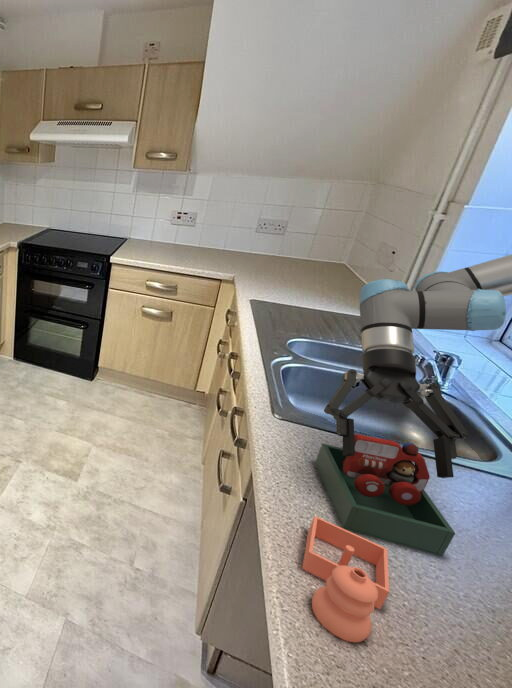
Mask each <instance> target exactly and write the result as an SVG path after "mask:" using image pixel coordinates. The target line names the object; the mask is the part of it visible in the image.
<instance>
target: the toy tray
mask: <svg viewBox="0 0 512 688" xmlns="http://www.w3.org/2000/svg"><path fill="white" fill-rule="evenodd" d="M346 458H347V456H343V447H339V446H334V445H330V444H326V443H321V445H320V448H319V451H318V453H317V456H316V458H315V461H314V466H315V467H316V469H317V472H318V474H319V477H320V479H321V481H322V483H323V486H324V488H325V490H326V493H327V495H328V498H329V500H330V502H331V505H332V507H333V509H334V512H335V513H336V516H337V518H338V521H339V524H340V525H341V528H343V529H345V530H347V531H350V532H352V533H357V534H361V535H363V536H364V535H365V536H367V537H371V538H375V539H378V540H382V541H386V542H390V543H392V544H395V545H396V544H397V545H400V546H403V547H407V548H410V549H414V550H417V551H421V552H425V553H428V554H432V555H435V556H439V557H443V556H444V554H445V553H446V551H447V549H448V547H449V545H450V543H451V542H452V540H453V538H454V537H455V535H456V532H455V530H454V529H453V528H452V526H451V525H450V523H449V522H448V520H447V519H446V518H445V517H444V515H443V514H442V512H441V511H440V510H439V508H438V507H437V505H436V504H435V503H434V502H433V500H432V499H431V497H430V495H428V494H427V491H425V489H424V490H423V491H421V492H420V494H421V499H420V501H419V502H418V503H416V504H414V505H402V504H399V503H397V502H396V501H395V500H394V499H393V498H392V497H391V495H390V494H389V488H390V486H388V485H385V491H384V492H383V493H382V494H381V495H379V496H376V497H368V496H365V495H362V494H361V493H360V492H359V491H358V490H357V488H356V487H355V484H354V482H355V479H356V478H351V477H348V476H347V475H346V474H345V473H344V471H343V462H344V460H345V459H346ZM412 475H413V473H412Z"/></svg>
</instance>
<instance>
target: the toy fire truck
mask: <svg viewBox="0 0 512 688" xmlns="http://www.w3.org/2000/svg"><path fill="white" fill-rule="evenodd" d="M354 441H355V455H353V456H349V457H347V458H346V459H345V460H344V462H343V471H344V473H345V474H346V475H347V476H348V477H351V478H356V479H355V482H354V484H355V487H356V488H357V490H358V491H359V492H360V493H361V494H362V495H365V496H368V497H376V496H379V495H381V494H382V493H383V492H384V491H385V485H388V486H390V488H389V494H390V495H391V497H392V498H393V499H394V500H395V501H396V502H397V503H399V504H402V505H414V504H416V503H418V502H419V501H420V499H421V494H420V492H421V491H423V490H425V489H426V486H427V484H428V482H429V480H430V477H431V476H430V474H429V470H428V466H427V463H426V460H425V458H424V457H423V456H422V454H421V453H420V452H419V447H418V446H417V445H416V444H415V443H412V442H405V443H403V444H402V446H401V444H400V443H399V442H398V441H396V440H391V439H385V438H381V437H376V436H371V435H365V434H359V433H354ZM412 474H413V475H412Z"/></svg>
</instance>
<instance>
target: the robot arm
mask: <svg viewBox="0 0 512 688" xmlns="http://www.w3.org/2000/svg"><path fill="white" fill-rule="evenodd" d="M511 295H512V254H509V255H505V256H501V257H497V258H495V259H492V260H487V261H484V262H481V263H477V264H474V265H471V266H468V267H464V268H459V269H456V270H453V271H432V272H429V273H426V274H424V275H423V276H421V277H419V279H418V280H417V281H416V282H415V285H414V290H411V289H409V286H408V284H407V283H405V282H404V281H402V280H398V279H397V280H393V279H391V278H387V279H386V278H385V279H383V278H381V279H377V280H373V281H370V282H368V283H366V284H364V285H363V286H362V287H361V289H360V291H359V316H360V333H361V334H360V335H361V351H362V353H363V354H362V355H361V358H362V371H363V373H361V372H358V371H357V370H356V369H353V368H350V369H349V370H347V371H345V372H344V373H343V376H342V382H341V384H340V385H339V387H338V388H337V390H336V391H335V393H334V394H333V396H332V397H331V398H330V400H329V401H328V403H327V405H326V406H325V407H324V408H323V411H324V413H325V414H327V415H331V416H332V417H333V419H334V420H335V421H336V426H335V427H336V434H337V436H338V437H342V439H341V440H342V448H343V456H347V457H349V456H353V455H355V441H354V434H355V420H354V418H350V417H349V416H351V415H352V414H353V413H354V412H356V411H357V410H359V409H360V408H361V407H362V406H364V405H365V404H366V403H368V401H370V400H371V399H372V398H376V399H377V400H378V401H383V402H384V401H385V402H386V401H388V402H390V403H394V404H400V403H401V404H402V405H403V406H404V407H405V408H407V409H410V411H411V412H412V413H414V415H415V416H416V417H417V418H418V419H420V421H421V422H422V423H423V424H424V425H425V426H426V427H427V429H428V430H430V431H431V432H432V433H433V434H434V435H435V436H436V437H437V438H433V450H434V460H435V470H436V477H437V478H440V479H448V478H454V477H455V476H454V475H455V474H454V469H453V461H452V460H455V459H457V457H458V453H457V446H456V445H457V444H456V441H459V440H463V439H468V438H469V437H470V433H469V431H468V430H467V429H466V428H465V426H464V425H463V423H462V421H461V420H460V419H459V417H458V416H457V414H456V413H455V412H454V410H453V409H452V407H451V406H450V405H449V403H448V402H447V400H446V399H445V397H444V396H443V395H442V390H441V386H440V385H439V383H437V382H432V383H429V384H428V383H419V382H418V380H417V364H416V357H415V355H414V354H415V343H414V336H413V330H441V331H442V330H447V331H470V332H475V331H495V330H499V329H501V328H502V327H503V325H504V324H505V321H506V318H507V317H506V316H507V303H506V299H505V297H508V296H511ZM360 381H361V383H362V384H363V385H364V386H365V388H366V389H365V391H363V392H362V393H360V394H359V396H356V398H355V399H353V400H352V401H351V402H349V403H348V404H347V405H346V406H344V407H343V408H342V409H340V406H341V405H342V404H343V402H344V400H345V399H346V397H348V395H349V393H350V392H351V390H352V388H353V387H354V385H355V384H357V383H359V382H360ZM418 391H419V392H420V394H421V396H420V395H419V394H418V393H417V392H418ZM422 396H423V397H424V398H425V400H426V402H427V404H428V405H429V406H430V407H429V406H428V405H427V404H426V403H425V401H424V399H423V398H422Z"/></svg>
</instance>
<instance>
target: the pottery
mask: <svg viewBox="0 0 512 688" xmlns="http://www.w3.org/2000/svg"><path fill="white" fill-rule="evenodd" d="M315 538H317V539H320V540H322V541H324V542H325V543H328V544H330V545H332V546H334V547H337V548H338V549H341V550H342V551H343V552H342V554H341V556H340V559H339V561H338V563H336V562H334V561H332V560H330V559H328V558H326V557H324V556H322V555H320V554H318V553H316V552H314V545H315ZM353 556H355V557H357V558H359V559H361V560H363V561H365V562H368V563H369V564H372V565H373V566H375V581H373V580H372V579H371V578H369V576H368V574H367V572H366V571H365V570H363V569H362V568H360V567H357V566H349V563H350V561H351V559H352V557H353ZM301 569H302V570H304V571H306V572H308V573H310V574H312V575H314V576H316V577H317V578H319V579H321V580H323V581H325V586H322V587H319V588H318V589H316V590H315V591H314V592H313V595H312V598H311V609H312V612H313V614H314V616H315V618H316V619H317V621H318V622H319V623H320V625H322V626H323V627H324V628H325V629H326V630H327V631H328V632H329V633H331V634H332V635H334V636H335V637H337V638H339V639H340V640H341V639H342V640H344V641H346V642H350V643H360V642H363V641H364V640H366V639H367V638H368V637H370V635H371V632H372V619H371V616H370V615H371V614H372V613H373V612H374V610H375V609H376V608H377V609H379V610H381V609H382V607H383V605H384V603H385V601H386V599H387V597H388V596H389V594H390V579H389V578H390V576H389V555H388V548H387V547H385V546H383V545H381V544H378V543H376V542H375V541H371V540H370V539H368V538H365V537H363V536H360V535H358V534H356V533H355V532H353V531H350V530H346V529H343V527H342V526H338V525H336V524H334V523H332V522H330V521H327V520H325V519H323V518H321V517H319V516H317V515H314V516H313V518H312V521H311V524H310V525H309V528H308V532H307V537H306V543H305V549H304V555H303V561H302V567H301Z"/></svg>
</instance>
